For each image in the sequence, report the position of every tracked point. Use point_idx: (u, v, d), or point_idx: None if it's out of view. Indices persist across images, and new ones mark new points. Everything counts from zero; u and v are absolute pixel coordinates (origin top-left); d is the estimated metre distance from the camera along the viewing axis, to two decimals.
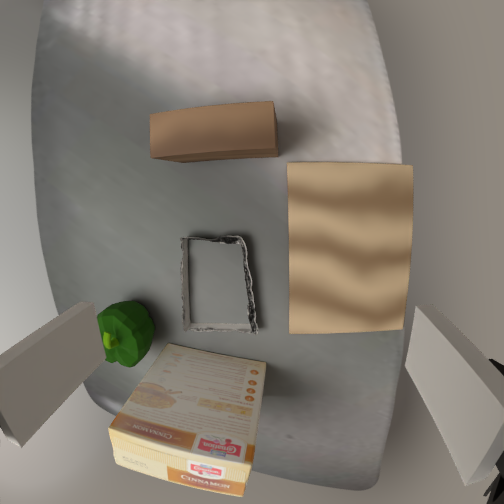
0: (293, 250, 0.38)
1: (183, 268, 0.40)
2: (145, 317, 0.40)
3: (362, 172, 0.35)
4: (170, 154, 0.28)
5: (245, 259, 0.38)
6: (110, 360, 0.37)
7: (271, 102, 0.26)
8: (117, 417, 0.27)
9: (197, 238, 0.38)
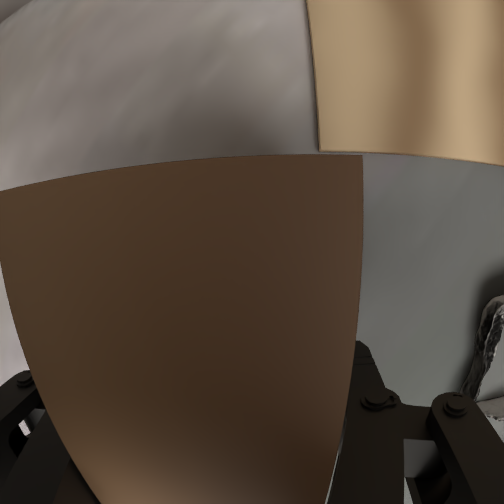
0: None
1: None
2: None
3: None
4: None
5: None
6: None
7: None
8: None
9: None
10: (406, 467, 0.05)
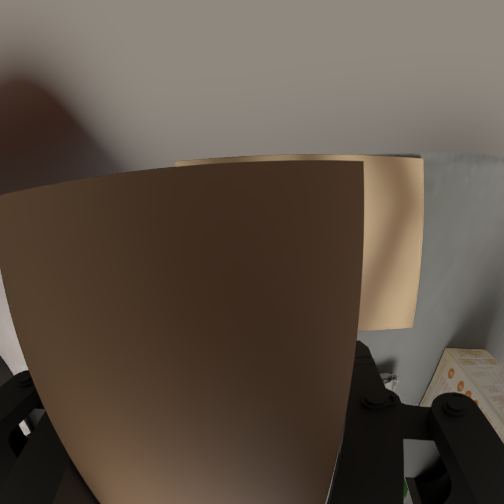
0: None
1: None
2: None
3: None
4: None
5: None
6: None
7: None
8: None
9: None
10: (406, 467, 0.05)
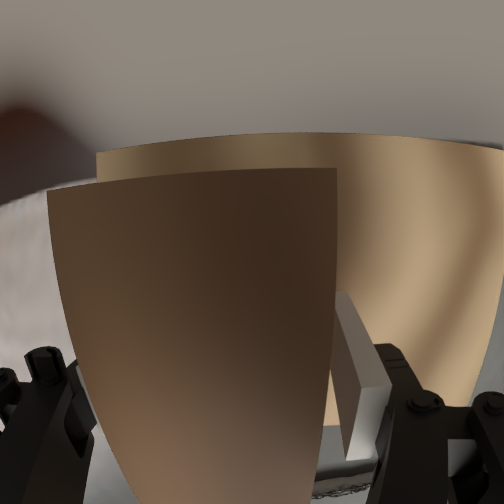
0: None
1: None
2: None
3: None
4: None
5: None
6: None
7: (51, 199, 0.04)
8: None
9: None
10: None
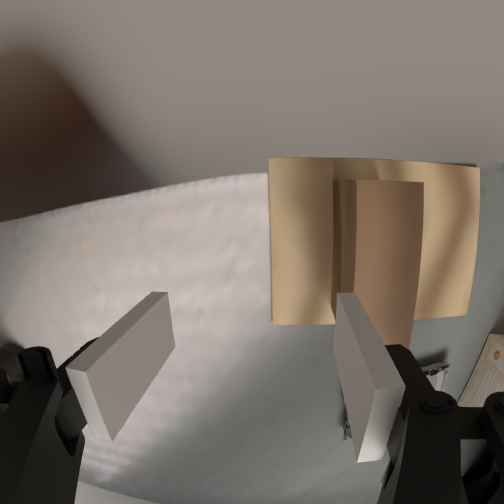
0: None
1: None
2: None
3: (283, 233, 0.29)
4: (410, 330, 0.19)
5: None
6: None
7: (358, 182, 0.17)
8: None
9: (345, 428, 0.31)
10: None
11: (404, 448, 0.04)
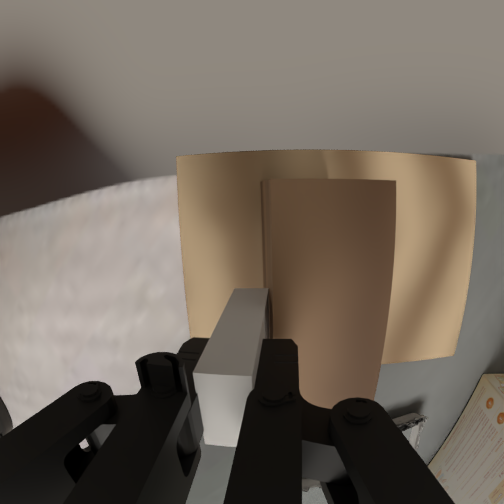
0: None
1: None
2: None
3: (197, 253, 0.22)
4: None
5: None
6: None
7: (274, 183, 0.10)
8: None
9: None
10: (309, 469, 0.06)
11: (238, 442, 0.05)
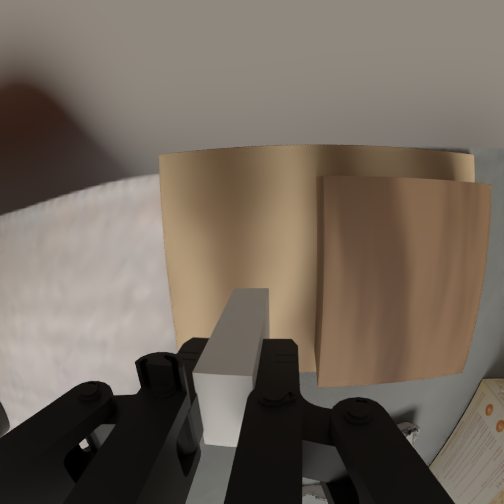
0: None
1: None
2: None
3: (181, 253, 0.21)
4: None
5: None
6: None
7: (489, 186, 0.13)
8: None
9: None
10: (310, 469, 0.06)
11: (238, 442, 0.05)
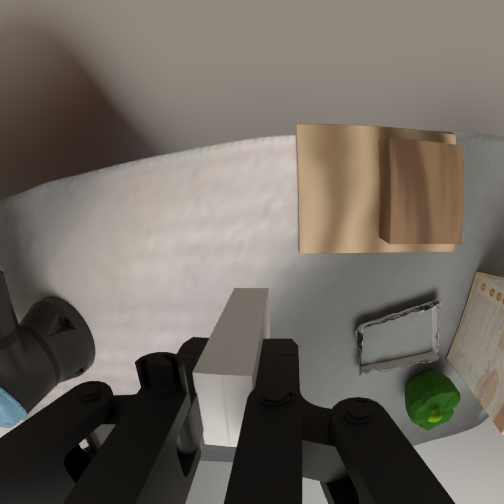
0: (381, 248, 0.38)
1: (385, 367, 0.40)
2: (422, 380, 0.39)
3: (308, 179, 0.37)
4: None
5: (375, 322, 0.39)
6: (451, 414, 0.35)
7: (461, 146, 0.30)
8: (496, 423, 0.24)
9: (359, 362, 0.40)
10: (310, 469, 0.06)
11: (238, 442, 0.05)
